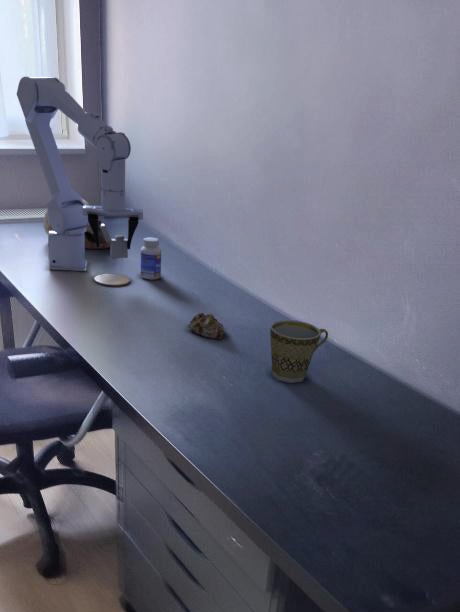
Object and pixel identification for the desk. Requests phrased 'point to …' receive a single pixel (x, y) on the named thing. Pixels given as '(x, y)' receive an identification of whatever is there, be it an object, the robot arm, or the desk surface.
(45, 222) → the brown skull
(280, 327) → the ceramic cup
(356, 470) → the desk surface
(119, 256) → the lighter
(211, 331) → the mineral rock
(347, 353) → the desk surface
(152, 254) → the pill bottle
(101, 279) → the coaster
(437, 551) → the desk surface
